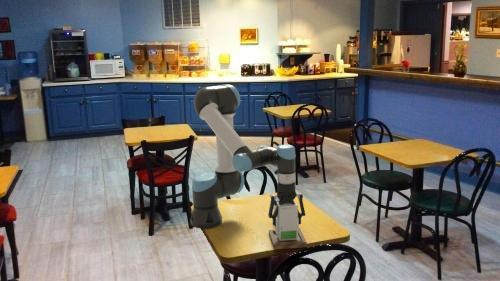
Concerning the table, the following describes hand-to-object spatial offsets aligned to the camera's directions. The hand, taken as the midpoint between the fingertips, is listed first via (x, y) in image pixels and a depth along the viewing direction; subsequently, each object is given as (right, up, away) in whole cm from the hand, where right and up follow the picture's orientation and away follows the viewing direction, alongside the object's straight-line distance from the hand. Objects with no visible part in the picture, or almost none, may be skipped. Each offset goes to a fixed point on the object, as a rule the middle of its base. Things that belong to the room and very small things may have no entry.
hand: (286, 231), depth 201 cm
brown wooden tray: (0, -4, +1) cm, 4 cm away
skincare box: (0, -3, +1) cm, 3 cm away
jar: (-1, 0, +21) cm, 21 cm away
